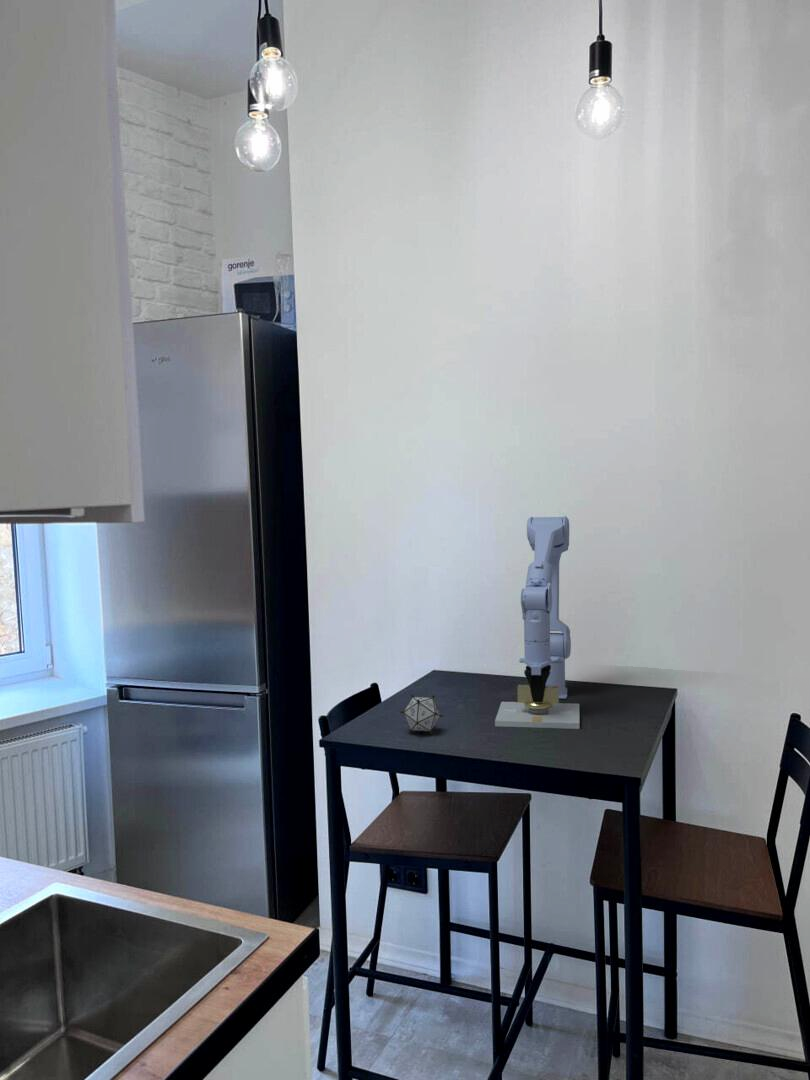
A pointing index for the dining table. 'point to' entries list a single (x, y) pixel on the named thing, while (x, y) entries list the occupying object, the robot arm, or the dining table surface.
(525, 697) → the door handle
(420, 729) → the game die
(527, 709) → the lock plate
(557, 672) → the robot arm
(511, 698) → the dining table surface
